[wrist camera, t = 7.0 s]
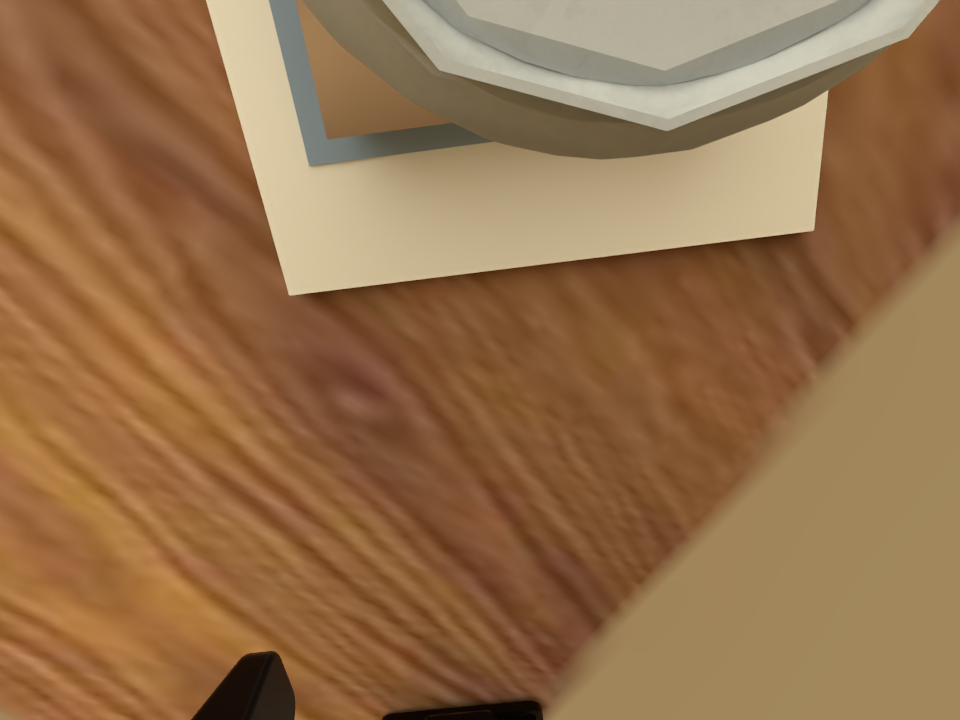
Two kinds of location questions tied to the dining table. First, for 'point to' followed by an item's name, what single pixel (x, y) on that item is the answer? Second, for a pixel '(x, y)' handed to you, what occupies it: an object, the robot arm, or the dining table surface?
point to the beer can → (615, 63)
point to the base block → (354, 89)
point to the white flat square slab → (484, 181)
